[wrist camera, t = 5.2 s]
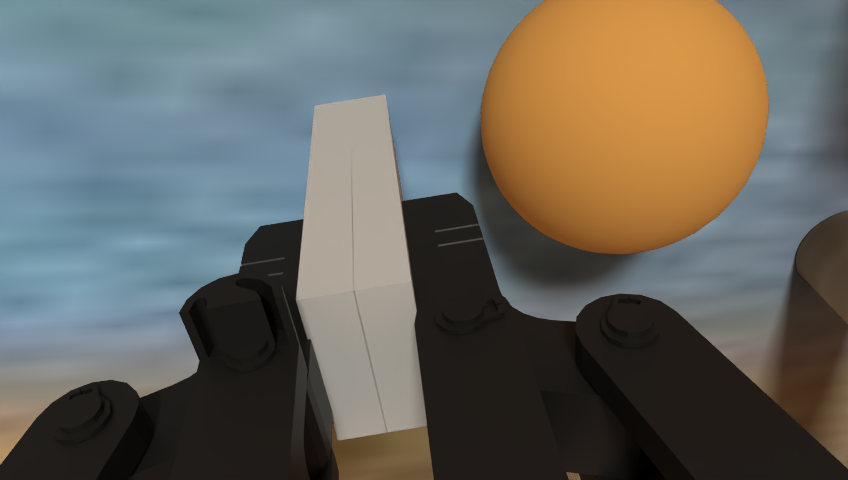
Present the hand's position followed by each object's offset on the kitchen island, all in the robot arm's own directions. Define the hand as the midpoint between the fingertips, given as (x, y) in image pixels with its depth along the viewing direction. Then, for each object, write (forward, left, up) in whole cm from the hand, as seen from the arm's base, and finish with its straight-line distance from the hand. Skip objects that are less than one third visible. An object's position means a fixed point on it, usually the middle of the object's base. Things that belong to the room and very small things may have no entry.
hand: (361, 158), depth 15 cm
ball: (-5, -1, +1) cm, 5 cm away
